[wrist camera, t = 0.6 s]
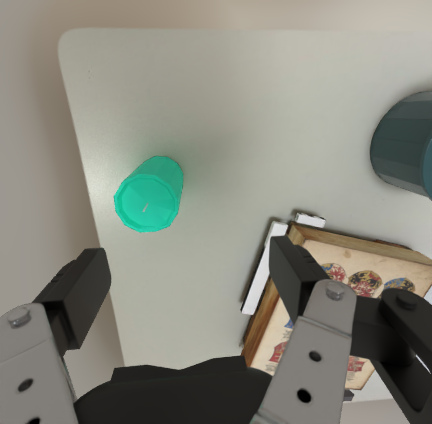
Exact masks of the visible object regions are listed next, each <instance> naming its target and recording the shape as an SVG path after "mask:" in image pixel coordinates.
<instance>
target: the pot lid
mask: <svg viewBox="0 0 432 424" xmlns="http://www.w3.org/2000/svg"><path fill="white" fill-rule="evenodd" d="M419 176H420V182H421V186H422V188H423V190H424V192H425V194H426V195H427V197H428V198H429V199H430V200H431V201H432V130H431V132H430V134H429V136H428V138H427V140H426V142H425V145H424V147H423V151H422V154H421V158H420V165H419Z"/></svg>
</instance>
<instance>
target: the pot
mask: <svg viewBox="0 0 432 424" xmlns="http://www.w3.org/2000/svg"><path fill="white" fill-rule="evenodd" d="M431 130H432V91H426V92H419V93H416V94H413V95H411V96H409V97H406V98H405V99H403V100H401V101H400V102H399V103H397V104H396V105H395V106H394V107H392V108H391V109H390V110H389V111H388V112H387V114H386V115H385V116H384V117H383V119H382V120H381V122H380V123H379V125H378V127H377V129H376V131H375V133H374V136H373V139H372V143H371V150H370V156H371V163H372V166H373V169H374V170H375V172H376V174H377V175H378V176H379V177H380V178H381V179H382V180H384V181H385V182H387V183H389V184H392V185H395V186H397V187H400V188H403V189H406V190H409V191H412V192H414V193H417V194H420V195H423V196H426V197H427V195H426V194H425V192H424V190H423V188H422V186H421V182H420V176H419V165H420V158H421V154H422V151H423V147H424V145H425V142H426V140H427V138H428V136H429V134H430V132H431Z"/></svg>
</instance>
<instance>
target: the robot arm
mask: <svg viewBox="0 0 432 424" xmlns="http://www.w3.org/2000/svg"><path fill="white" fill-rule="evenodd" d="M269 272H270V276H271V278H272V280H273V282H274V284H275V287H276V289H277V291H278V293H279V295H280V297H281V300H282V302H283V304H284V306H285V308H286V310H287V312H288V315H289V317H290V319H291V321H292V323H293V325H294V327H293V330H292V332H291V335H290V337H289V339H288V342H287V344H286V346H285V349H284V351H283V354H282V356H281V358H280V361H279V363H278V366H277V368H276V370H275V373H274V375H273V376H272V375H270V374H269V373H267V372H264V371H262V370H260V369H256V368H253V367H248V366H247V365H246V361H245V356H244V355H243V356H232V357H222V358H213V359H210V360H207V361H204V362H202V363H199V364H196V365H193V366H190V367H187V368H185V369H181V370H176V369H170V368H164V367H158V366H152V365H140V366H130V367H120V368H114V371H113V375H112V378H111V380H110V381H108V382H105V383H103V384H101V385H99V386H97V387H95V388H94V389H92V390H90V391H89V392H87V393H86V394H84V395H83V396H81V397H80V398H79V399H78V400H77V397H76V394H75V391H74V388H73V384H72V382H71V378H70V376H69V372H68V369H67V366H66V363H65V360H64V358H63V356H64V354H65V352H66V351H67V350H74V349H80V347H81V345H82V343H83V341H84V339H85V337H86V335H87V333H88V331H89V329H90V327H91V325H92V323H93V321H94V319H95V317H96V315H97V313H98V311H99V309H100V307H101V305H102V303H103V301H104V299H105V297H106V295H107V293H108V291H109V289H110V286H111V273H110V269H109V265H108V261H107V256H106V252H105V250H104V248H89V249H85V250H84V251H83V252H82V253H81V254H80V255H79V257H78V258H77V259H76V260H73V261H71V262H70V263H68V264H67V265H65V266H64V267H62V269H61V270H60V271H59V272H58V273H57V274H56V276H55V277H54V278H53V279H52V280H51V282H50V283H48V285H47V286H46V287H45V288H44V289H43V290H42V291H41V293H40V294H39V295H38V296H37V297H36V298H35V300H34V301H33V302H32V303H29V304H24V305H21V306H18V307H16V308H14V309H12V310H10V311H8V312H7V313H5V314H4V315H3V316H1V317H0V424H340V417H341V411H342V404H343V397H344V390H345V383H346V376H347V369H348V363H349V356H354V357H359V358H364V359H369V360H370V362H371V363H372V365H373V367H374V368H375V370H376V371H377V373H378V374H379V376H380V377H381V379H382V381H383V382H384V384H385V385H386V387H387V388H388V390H389V391H390V393H391V395H392V396H393V398H394V399H395V401H396V402H397V404H398V405H399V407H400V408H401V410H402V412H403V413H404V415H405V416H406V418H407V420H408V421H409V423H410V424H432V305H431V304H430V303H429V302H428V301H426V300H425V299H424V298H422V297H421V296H419V295H417V294H415V293H413V292H411V291H408V290H405V289H400V288H387V289H385V290H383V291H382V294H381V298H380V299H379V298H372V297H365V296H359V295H356V293H355V291H354V290H353V289H352V288H351V287H350V286H348V285H347V284H345V283H343V282H340V281H337V280H332V279H331V278H330V277H329V276H328V274H327V273H326V272H325V271H324V269H323V268H322V267H321V266H320V265H319V263H317V261H316V260H315V259H314V257H312V255H311V254H310V253H309V251H308V250H307V249H305V248H304V247H302V246H300V245H299V244H297V245H294V244H293V243H292V241H291V240H290V239H289V238H288V236H287V235H283V236H271V238H270V246H269ZM416 354H417V356H418V357H419V358H420V359H421V360H422V361H423V363H424V364H425V365H426V366H427V368H428V369H429V371H430V373H431V374H430V373H429V372H428V370H427V369H426V368H425V367H424V366H423V364H422V363H421V362H420V361H419V360H418V358H417V357H416Z"/></svg>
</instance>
